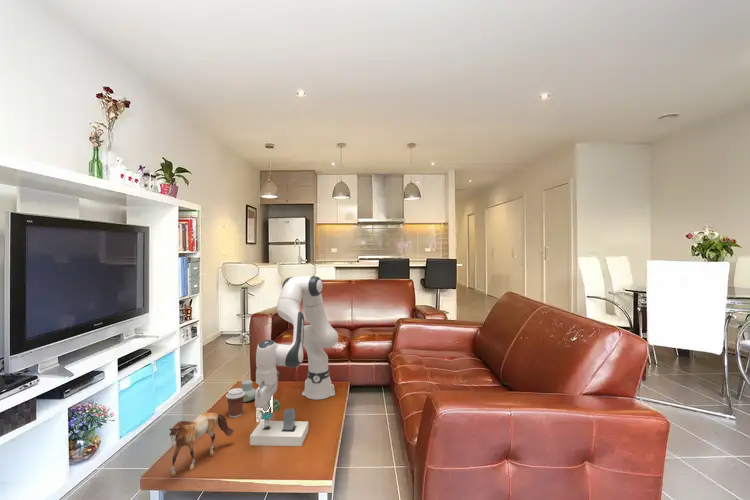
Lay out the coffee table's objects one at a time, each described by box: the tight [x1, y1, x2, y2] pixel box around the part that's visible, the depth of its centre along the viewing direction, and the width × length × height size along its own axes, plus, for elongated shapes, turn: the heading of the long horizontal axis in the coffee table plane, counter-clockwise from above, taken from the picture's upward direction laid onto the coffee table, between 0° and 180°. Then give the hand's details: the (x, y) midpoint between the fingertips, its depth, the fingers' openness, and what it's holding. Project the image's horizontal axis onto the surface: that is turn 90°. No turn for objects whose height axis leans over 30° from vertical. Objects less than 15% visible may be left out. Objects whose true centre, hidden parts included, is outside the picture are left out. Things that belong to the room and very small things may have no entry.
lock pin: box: [261, 412, 273, 430], centre depth 170 cm, size 4×4×6 cm
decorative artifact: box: [273, 397, 280, 413], centre depth 199 cm, size 10×7×10 cm
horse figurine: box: [169, 412, 236, 477], centre depth 152 cm, size 31×8×21 cm, turn 158°
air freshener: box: [240, 379, 257, 403], centre depth 211 cm, size 11×8×10 cm
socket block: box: [249, 420, 309, 447], centre depth 170 cm, size 14×22×4 cm, turn 88°
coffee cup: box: [225, 387, 245, 418], centre depth 193 cm, size 9×9×12 cm
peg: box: [282, 408, 296, 432], centre depth 170 cm, size 4×4×12 cm
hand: (266, 409), depth 170 cm, fingers closed
